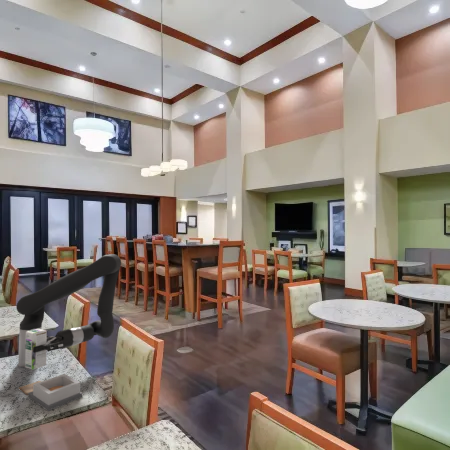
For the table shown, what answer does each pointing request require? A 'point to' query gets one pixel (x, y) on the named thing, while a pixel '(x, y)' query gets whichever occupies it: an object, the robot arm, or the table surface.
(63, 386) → the button
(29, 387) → the rest mat
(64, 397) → the panel
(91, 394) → the table surface
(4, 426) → the table surface
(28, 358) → the syrup box
